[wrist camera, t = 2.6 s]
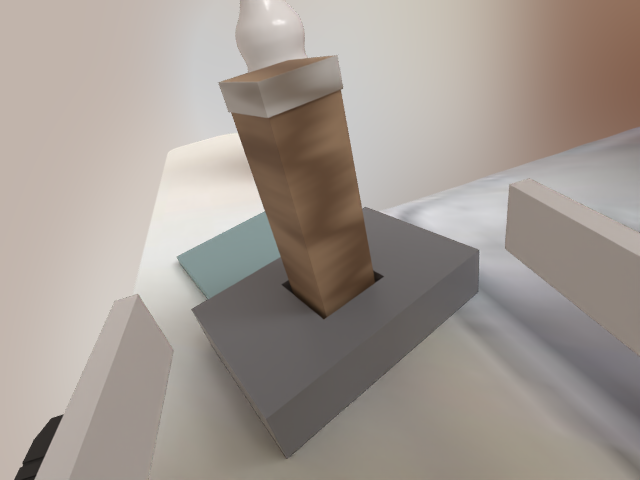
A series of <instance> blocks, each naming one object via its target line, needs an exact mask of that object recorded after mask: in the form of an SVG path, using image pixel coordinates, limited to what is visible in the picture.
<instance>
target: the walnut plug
mask: <svg viewBox="0 0 640 480" xmlns="http://www.w3.org/2000/svg"><path fill="white" fill-rule="evenodd" d="M219 86H220V89H221V91H222V94H223V97H224V100H225V103H226V106H227V108H228V112H231V113H232V116H233V119H234V122H235V125H236V128H237V131H238V134H239V137H240V140H241V142H242V145H243V148H244V151H245V154H246V157H247V160H248V163H249V166H250V169H251V172H252V174H253V177H254V180H255V183H256V186H257V189H258V192H259V195H260V198H261V201H262V204H263V207H264V209H265V212H266V215H267V218H268V221H269V224H270V227H271V230H272V233H273V236H274V239H275V241H276V244H277V247H278V250H279V253H280V256H281V259H282V262H283V265H284V268H285V271H286V273H287V276H288V279H289V282H290V285H291V288H292V291H293V294H294V295H295V296H296V297H297V298H298V299H299V300H301V301H302V302H303V303H304V304H306V305H307V306H308V307H309V308H310V309H312V310H313V311H314V312H315V313H316V314H318V315H319V316H320V317H321V318H322V319H326V318H327V317H328V316H330V315H331V314H333V313H334V312H335V311H337V310H338V309H340V308H341V307H342V306H344V305H345V304H347V303H348V302H349V301H351V300H352V299H353V298H355V297H356V296H358V295H359V294H360V293H362V292H363V291H365V290H366V289H367V288H369V287H370V286H372V285H373V284H374V283H375V278H374V273H373V267H372V262H371V256H370V250H369V245H368V239H367V234H366V228H365V222H364V217H363V211H362V206H361V200H360V195H359V189H358V183H357V178H356V172H355V167H354V161H353V156H352V151H351V144H350V139H349V133H348V127H347V122H346V116H345V111H344V106H343V99H342V94H341V89H343V84H342V79H341V73H340V67H339V61H338V56H337V55H334V56H324V57H313V58H301V59H290V60H286V61H283V62H280V63H277V64H274V65H271V66H268V67H265V68H261V69H258V70H255V71H252V72H249V73H246V74H243V75H240V76H237V77H234V78H231V79H227V80H224V81H221V82H219Z"/></svg>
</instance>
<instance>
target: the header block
mask: <svg viewBox="0 0 640 480" xmlns="http://www.w3.org/2000/svg"><path fill="white" fill-rule="evenodd" d="M362 211H363V217H364V222H365V228H366V234H367V239H368V245H369V250H370V256H371V262H372V267H373V273H374V278H375V283H374V284H373V285H372V286H370V287H369V288H367V289H366V290H365V291H363V292H362V293H360V294H359V295H358V296H356V297H355V298H353V299H352V300H351V301H349V302H348V303H347V304H345V305H344V306H342V307H341V308H340V309H338V310H337V311H335V312H334V313H333V314H331V315H330V316H328V317H327V318H326V319H322V318H321V317H320V316H319V315H318V314H316V313H315V312H314V311H313V310H312V309H310V308H309V307H308V306H307V305H306V304H304V303H303V302H302V301H301V300H299V299H298V298H297V297H296V296H295V295H294V294H293V291H292V288H291V285H290V282H289V279H288V276H287V273H286V271H285V268H284V265H283V262H282V259H281V257H279V258H278V259H276V260H274V261H273V262H271V263H269V264H267V265H266V266H264V267H262V268H261V269H259V270H257V271H256V272H254V273H252V274H250V275H249V276H247V277H245V278H244V279H242V280H240V281H239V282H237V283H235V284H234V285H232V286H230V287H228V288H227V289H225V290H223V291H222V292H220V293H218V294H217V295H215V296H213V297H211V298H210V299H208V300H206V301H205V302H203V303H201V304H200V305H198V306H196V307H194V308H193V309H191V310H192V311H193V313H194V315H195V317H196V318H197V320H198V322H199V324H200V326H201V327H202V329H203V331H204V333H205V334H206V336H207V338H208V340H209V342H210V343H211V345H212V347H213V348H214V350H215V351H216V353H217V354H218V356H219V357H220V359H221V360H222V362H223V363H224V365H225V366H226V368H227V369H228V371H229V372H230V374H231V375H232V377H233V378H234V380H235V381H236V383H237V384H238V386H239V387H240V389H241V390H242V392H243V393H244V395H245V396H246V398H247V399H248V401H249V402H250V404H251V405H252V407H253V409H254V410H255V412H256V413H257V415H258V416H259V418H260V419H261V421H262V422H263V424H264V425H265V427H266V428H267V430H268V431H269V433H270V434H271V436H272V437H273V439H274V440H275V442H276V443H277V445H278V446H279V448H280V449H281V451H282V452H283V454H284V455H285V457H286V458H288V457H289V456H291V455H292V454H293V453H294V452H295V451H296V450H297V449H299V448H300V447H301V446H302V445H303V444H304V443H306V442H307V441H308V440H309V439H310V438H311V437H312V436H314V435H315V434H316V433H317V432H318V431H319V430H320V429H322V428H323V427H324V426H325V425H326V424H327V423H328V422H330V421H331V420H332V419H333V418H334V417H335V416H336V415H338V414H339V413H340V412H341V411H342V410H343V409H345V408H346V407H347V406H348V405H349V404H350V403H351V402H353V401H354V400H355V399H356V398H357V397H358V396H359V395H361V394H362V393H363V392H364V391H365V390H366V389H367V388H369V387H370V386H371V385H372V384H373V383H374V382H375V381H377V380H378V379H379V378H380V377H381V376H382V375H384V374H385V373H386V372H387V371H388V370H389V369H390V368H392V367H393V366H394V365H395V364H396V363H397V362H398V361H400V360H401V359H402V358H403V357H404V356H405V355H406V354H408V353H409V352H410V351H411V350H412V349H413V348H414V347H416V346H417V345H418V344H419V343H420V342H421V341H423V340H424V339H425V338H426V337H427V336H428V335H429V334H431V333H432V332H433V331H434V330H435V329H436V328H437V327H439V326H440V325H441V324H442V323H443V322H444V321H445V320H447V319H448V318H449V317H450V316H451V315H452V314H453V313H455V312H456V311H457V310H458V309H459V308H460V307H462V306H463V305H464V304H465V303H466V302H467V301H468V300H470V299H471V298H472V297H473V296H474V295H475V294H476V293H478V284H479V250H478V249H475V248H473V247H470V246H467V245H465V244H462V243H459V242H457V241H454V240H452V239H449V238H446V237H444V236H441V235H438V234H436V233H433V232H430V231H428V230H425V229H422V228H420V227H417V226H415V225H412V224H409V223H407V222H404V221H401V220H399V219H396V218H393V217H391V216H388V215H386V214H383V213H380V212H378V211H375V210H372V209H370V208H367V207H364V208H363V209H362Z"/></svg>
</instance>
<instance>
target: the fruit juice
mask: <svg viewBox="0 0 640 480" xmlns="http://www.w3.org/2000/svg"><path fill="white" fill-rule="evenodd" d="M235 36H236V42H237V46H238V49H239V51H240V53H241V55H242V57H243V58H244V60H245V62H246V64H247V67H248V73H249V72H252V71H255V70H258V69H261V68H265V67H268V66H271V65H274V64H277V63H280V62H283V61H286V60H290V59H301V58H308V57H307V55H306V53H305V49H304V41H305V37H304V36H305V35H304V28H303V24H302V21H301V19H300V17H299V15H298V14H297V13H296V11H295V10H294V9H293V8H292V7H291V6H289V5H288V3H287V2H286V1H285V0H240V15H239V20H238V23H237V27H236V35H235Z"/></svg>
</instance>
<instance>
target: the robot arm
mask: <svg viewBox="0 0 640 480" xmlns="http://www.w3.org/2000/svg"><path fill="white" fill-rule="evenodd" d="M505 249H506V250H507V251H508V252H510V253H511V254H512V255H513V256H515V257H516V258H517V259H518V260H520V261H521V262H522V263H523V264H525V265H526V266H527V267H528V268H530V269H531V270H532V271H533V272H535V273H536V274H537V275H538V276H540V277H541V278H542V279H543V280H545V281H546V282H547V283H548V284H550V285H551V286H552V287H553V288H555V289H556V290H557V291H558V292H560V293H561V294H562V295H563V296H565V297H566V298H567V299H568V300H570V301H571V302H572V303H573V304H575V305H576V306H577V307H578V308H580V309H581V310H582V311H583V312H585V313H586V314H587V315H588V316H590V317H591V318H592V319H593V320H595V321H596V322H597V323H598V324H600V325H601V326H602V327H603V328H605V329H606V330H607V331H608V332H610V333H611V334H612V335H613V336H615V337H616V338H617V339H618V340H620V341H621V342H622V343H623V344H625V345H626V346H627V347H628V348H630V349H631V350H632V351H633V352H635V353H636V354H637V355H638V356H640V233H639V232H637V231H635V230H633V229H631V228H629V227H627V226H625V225H623V224H621V223H619V222H617V221H615V220H613V219H611V218H609V217H607V216H605V215H603V214H601V213H599V212H596V211H594V210H592V209H590V208H588V207H586V206H584V205H582V204H580V203H578V202H576V201H574V200H572V199H570V198H568V197H566V196H564V195H562V194H560V193H558V192H556V191H554V190H552V189H550V188H548V187H546V186H544V185H542V184H540V183H538V182H536V181H534V180H532V179H530V178H529V179H526V180H523V181H519V182H516V183H512V184H509V197H508V211H507V225H506V239H505ZM173 351H174V350H173V348H172V347H171V345H170V344H169V342H168V341H167V339H166V337H165V336H164V334H163V333H162V331H161V329H160V328H159V326H158V325H157V323H156V322H155V320H154V318H153V317H152V315H151V314H150V312H149V310H148V309H147V307H146V306H145V304H144V303H143V301H142V299H141V298H140V296H139V295H138V294H136V295H133V296H130V297H126V298H123V299H119V300H116V301H115V302H114V304H113V306H112V309H111V310H110V313H109V315H108V317H107V320H106V322H105V324H104V326H103V328H102V330H101V333H100V335H99V337H98V340H97V342H96V344H95V346H94V348H93V351H92V353H91V355H90V357H89V359H88V362H87V364H86V366H85V369H84V371H83V373H82V375H81V377H80V380H79V382H78V384H77V386H76V388H75V391H74V393H73V395H72V397H71V399H70V402H69V404H68V406H67V409H66V411H65V413H64V414H63V415H61V416H57V417H54V418H51V419H50V421H49V422H48V423H47V424H46V426H45V427H44V428H43V429H42V431H41V432H40V433H39V434H38V435H37V437H36V438H35V439H34V441H33V443H32V445H31V447H30V449H29V451H28V453H27V455H26V457H25V459H24V461H23V467H21V468H20V469H19V471H18V473H17V475H16V477H15V479H14V480H149V475H150V469H151V464H152V459H153V454H154V449H155V444H156V439H157V433H158V428H159V423H160V418H161V413H162V408H163V403H164V397H165V392H166V387H167V382H168V377H169V372H170V366H171V361H172V356H173Z"/></svg>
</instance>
